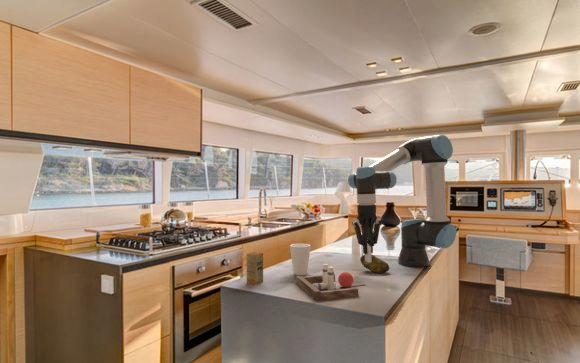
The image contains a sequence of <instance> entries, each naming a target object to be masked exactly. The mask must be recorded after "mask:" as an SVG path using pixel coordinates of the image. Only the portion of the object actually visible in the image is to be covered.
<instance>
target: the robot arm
mask: <svg viewBox="0 0 580 363" xmlns="http://www.w3.org/2000/svg"><path fill="white" fill-rule="evenodd" d="M452 144H453V143H452V142H451V140H450V139H449V137H448V136H447V135H444V134H435V135H434V134H433V135H428V136H423V137H422V136H421V137H416V138H412V139H410V140H408V141H406V142H404V143H402V144H401V145H399V146H397V147H396V148H394V150H393V152H391V153H389V154H387V155H386V156H384V157H382V158H381V159H379V160H378V161H376V162H374V163H373V164H370V165H369V166H359V167H357V168H356V171H355V172H352V173H349V176H348V178H347V182H348V186H349V187H350V188H352V189H356V200H357V201H356V202H357V208H356V210H357V218H356V220H355V221H352V222H351V224H352V226H353V228H354V232H355V236H356V240H357V244H358V245H361V246H362V252H363V255H364V254H365V261H366V262H368V263H369V262H372V259H371V254H372V255H373V253H374V246H375V245H377V244H378V241H379V234H380V229H381V225H382V224H383V221H382V220H381V219H379V218H378V217H377V205H376V203H377V197H376V196H377V195H376V194H377V193H376V190H385V189H386V190H388V189H393V188H394V187H395V186H396V184H397V175H396V174H395V173H394V172H393V171H394V170H395V169H397V168H399V167H400V166H401V165H407V164H409V163H411V162H419V161H420V162H421V165H422V166H423V167H424V171H425V173H424V174H425V193H426V194H425V195H426V196H425V197H426V217H425V218H415V219H414V218H413V219H403V220H402V221H401V227H400V230H401V231H400V232H401V233H400V234H401V236H400V237H401V249H400V253H399V256H398V259H397V262H398V264H399V265H402V266H404V267H405V266H407V267H411V268H414V267H416V268H420V267H421V268H423V267H428V266H430V260H429V256H428V253H427V250H426V246H427V247H432V248H437V249H448V248H450V247H451V246H452V245H453V244H454V242H455V240H456V237H457V230H456V229H457V228H456V227H455V225H453V224H451V219H450V218H449V217H448V216H447V199H446V198H447V197H446V177H445V176H446V174H445V173H446V172H445V171H446V170H445V166H446V165H447V164H448V163H449V162H448V161H449V160H448V159H451V157H452V155H453V152H454V151H453V150H454V149H453V145H452Z"/></svg>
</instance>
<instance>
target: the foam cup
mask: <svg viewBox="0 0 580 363" xmlns="http://www.w3.org/2000/svg"><path fill="white" fill-rule="evenodd" d="M289 251H290V257H291V258H290V259H291V264H292V272H293V274H294V275H296V276H305V275H307V274H308V270H309V262H310V256H311V255H310V254H311V244H308V243H292V244H290V245H289Z"/></svg>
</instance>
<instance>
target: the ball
mask: <svg viewBox="0 0 580 363" xmlns="http://www.w3.org/2000/svg"><path fill="white" fill-rule="evenodd" d="M338 275H339V276H338V279H337V282H338V285H340V286H341V287H342V288H344V289H348V288H351V287H350V286H353V284H354V277H353V275H352V273H350V272H347V271H343V272H341V273H340V274H338Z"/></svg>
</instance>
